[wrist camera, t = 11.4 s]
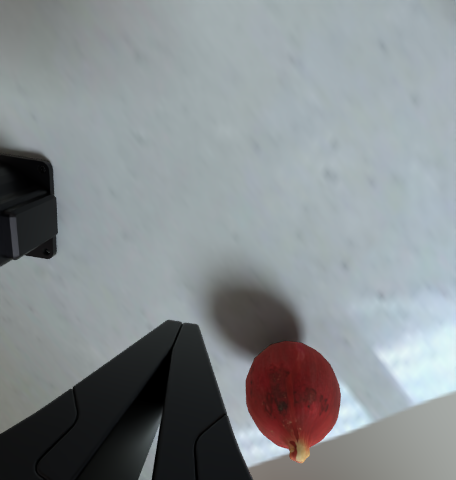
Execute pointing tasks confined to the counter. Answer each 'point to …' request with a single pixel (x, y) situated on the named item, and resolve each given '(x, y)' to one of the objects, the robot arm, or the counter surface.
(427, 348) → the counter surface
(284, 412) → the onion
